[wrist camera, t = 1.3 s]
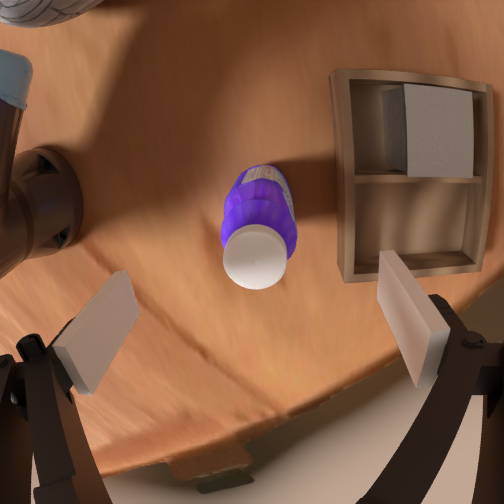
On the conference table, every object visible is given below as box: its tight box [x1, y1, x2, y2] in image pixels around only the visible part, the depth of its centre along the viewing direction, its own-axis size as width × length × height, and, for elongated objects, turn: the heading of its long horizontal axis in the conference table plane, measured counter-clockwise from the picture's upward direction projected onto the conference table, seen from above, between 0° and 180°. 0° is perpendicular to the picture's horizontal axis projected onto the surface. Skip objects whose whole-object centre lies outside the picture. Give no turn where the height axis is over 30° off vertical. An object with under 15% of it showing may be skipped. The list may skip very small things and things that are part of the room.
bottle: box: [221, 165, 297, 289], centre depth 28 cm, size 7×6×17 cm
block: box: [381, 84, 474, 178], centre depth 27 cm, size 7×8×7 cm
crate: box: [329, 69, 495, 284], centre depth 31 cm, size 18×22×5 cm
